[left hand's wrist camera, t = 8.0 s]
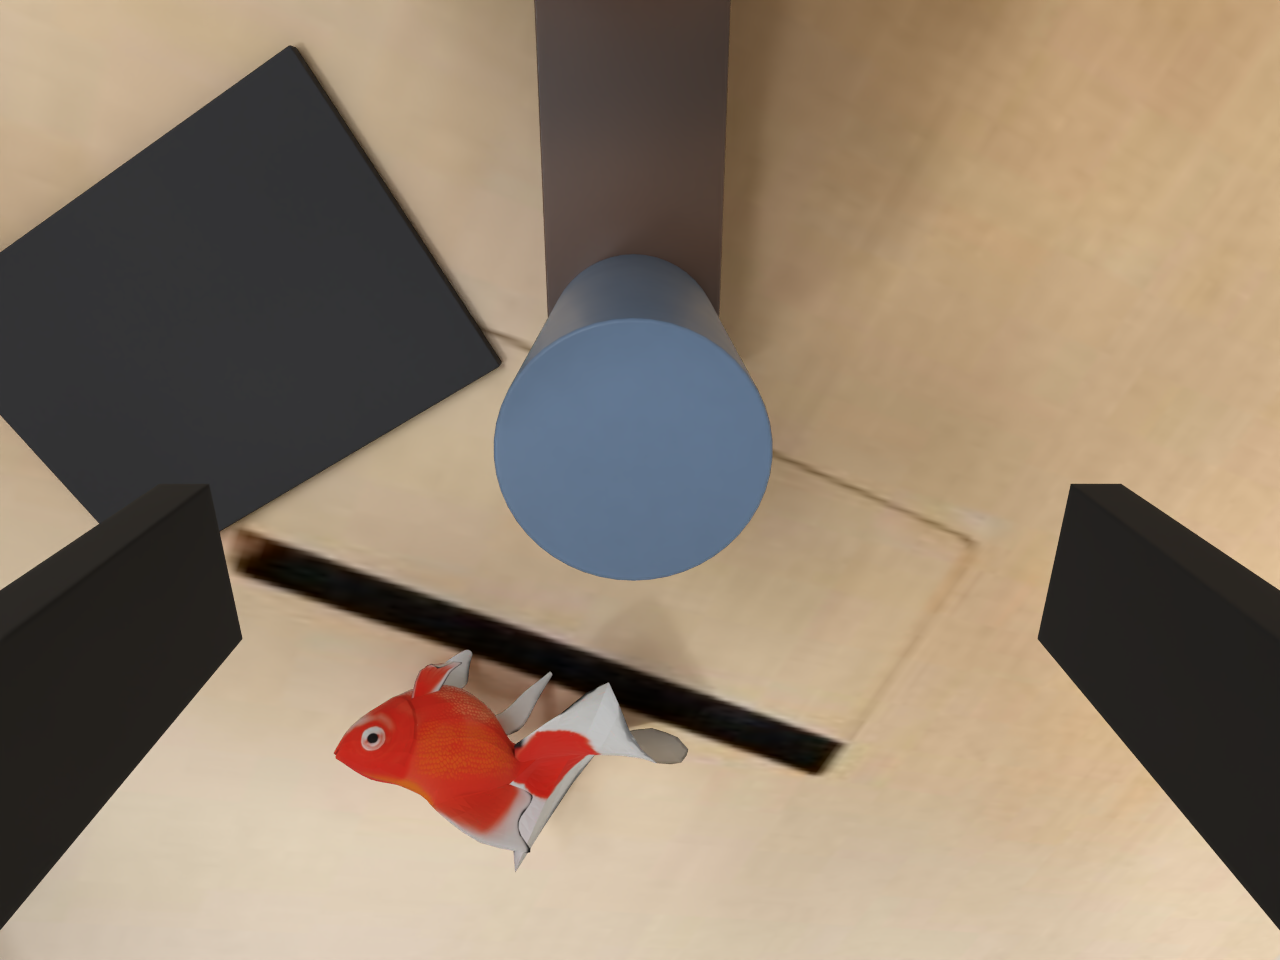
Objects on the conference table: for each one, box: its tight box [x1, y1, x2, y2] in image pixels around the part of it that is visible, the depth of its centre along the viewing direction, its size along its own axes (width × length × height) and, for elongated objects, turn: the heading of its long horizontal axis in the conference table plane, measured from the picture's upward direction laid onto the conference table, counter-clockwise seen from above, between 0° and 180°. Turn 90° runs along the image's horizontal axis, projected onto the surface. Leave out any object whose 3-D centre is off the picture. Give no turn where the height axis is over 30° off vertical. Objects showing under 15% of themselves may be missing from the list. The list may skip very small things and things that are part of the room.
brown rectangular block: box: [534, 0, 731, 317], centre depth 28 cm, size 22×6×6 cm, turn 0°
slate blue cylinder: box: [494, 254, 772, 580], centre depth 23 cm, size 6×6×12 cm
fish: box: [334, 650, 688, 872], centre depth 37 cm, size 11×16×10 cm
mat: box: [0, 46, 501, 531], centre depth 34 cm, size 20×14×1 cm
